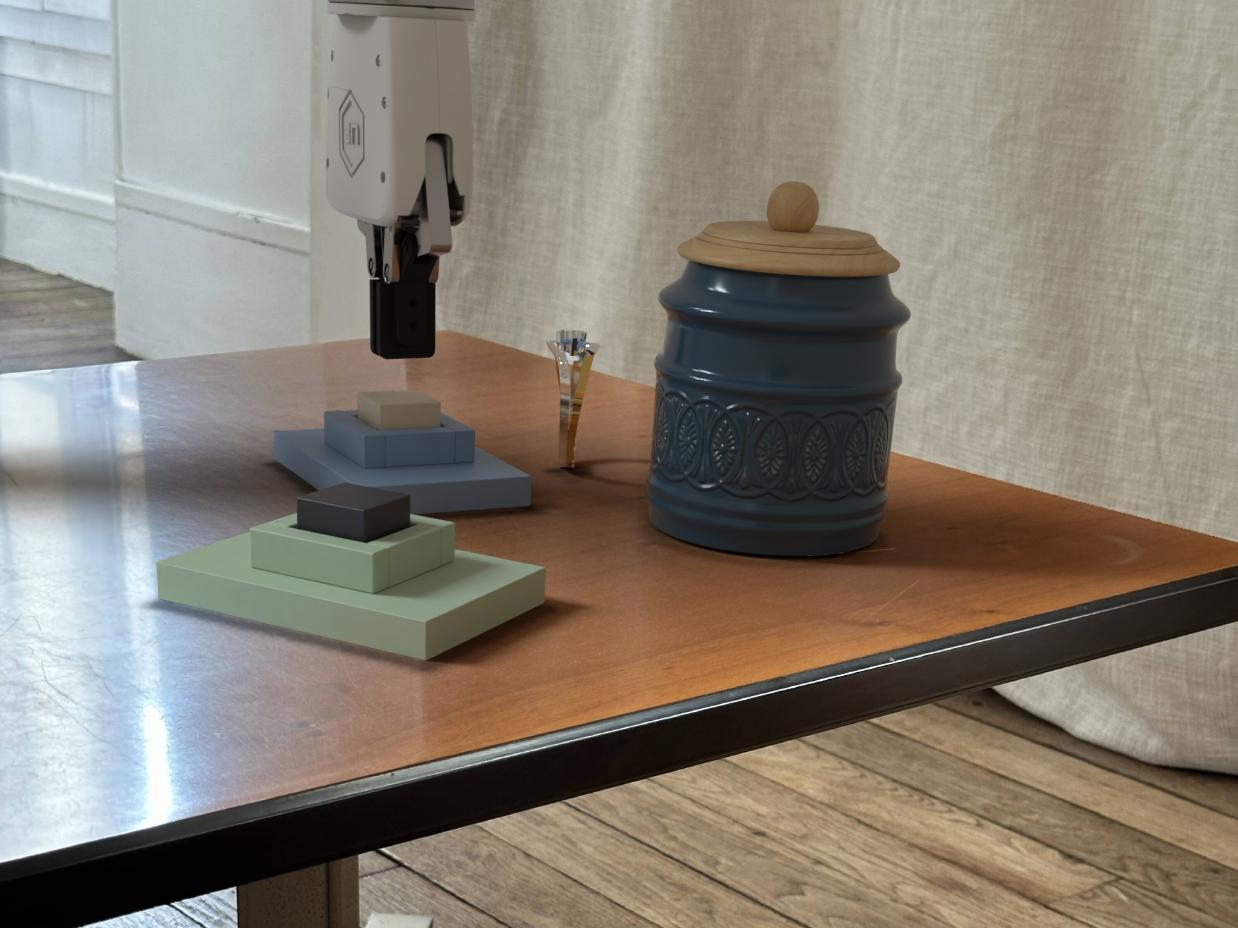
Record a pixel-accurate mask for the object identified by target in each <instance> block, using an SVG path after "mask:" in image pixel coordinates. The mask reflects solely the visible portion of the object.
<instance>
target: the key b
mask: <svg viewBox="0 0 1238 928" xmlns="http://www.w3.org/2000/svg"><path fill="white" fill-rule="evenodd" d="M356 396H357V400H356V401H357V404H356V405H357V410H358V419H359V420H360V421H362V422H364V423H366V424H367V425H369V426H371V427H373V428H374V429H376V430H390V429H411V428H431V427H440V426H441V413H442V403H441V401H439V400H437V399H435V398H433V397H431V396H430V395H427V394H426V393H423V392H421V391H419V390H417V389H405V390H404V389H402V390H399V389H398V390H375V391H358V392H357V395H356Z"/></svg>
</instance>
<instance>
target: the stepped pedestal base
mask: <svg viewBox="0 0 1238 928" xmlns="http://www.w3.org/2000/svg"><path fill="white" fill-rule="evenodd" d="M155 564H156V567H155V568H156V585H157V599H158V600H161V601H167V602H171V603H175V604H179V605H183V606H188V607H191V608H196V609H201V610H205V611H209V612H212V613H213V612H214V613H218V614H221V615H228V616H230V617H235V618H239V619H244V620H249V621H251V622H252V621H253V622H257V623H261V624H265V625H269V626H274V627H279V628H283V629H286V630H291V631H296V632H300V633H304V634H309V635H312V636H318V637H321V638H325V639H329V640H335V641H338V642H342V643H347V644H352V645H355V646H360V647H364V648H369V649H373V650H376V651H381V652H386V653H390V654H394V655H400V656H404V657H406V658H407V657H408V658H411V659H417V660H420V661H425V662H426V661H429V660H431V659H433V658H435V657H437V656H439V655H441V654H443V653H445V652H447V651H449V650H451V649H453V648H455V647H457V646H460V645H461V644H463V643H465V642H468V641H469V640H472V639H474V638H476V637H478V636H479V635H482V634H484V633H485V632H488V631H489V630H492V629H494V628H496V627H498V626H500V625H502V624H504V623H506V622H508V621H510V620H513V619H515V618H516V617H519V616H520V615H522V614H524V613H527V612H528V611H531V610H533V609H535V608H537V607H538V606H541V605H543V604H545V599H546V598H545V595H546V575H547V574H546V572H547V571H546V570H547V568H546V566H541V565H537V564H536V565H535V564H531V563H526V562H523V561H518V560H517V561H516V560H511V559H506V558H502V557H501V558H500V557H497V556H492V555H487V554H481V553H477V552H472V551H467V550H461V549H457V548H456V523H455V522H454V521H448V520H443V519H439V518H433V517H429V516H428V517H427V516H423V515H413V514H410V528H407V529H404V530H401V531H399V532H396V533H393V534H391V535H388V536H385V537H383V538H380V539H377V540H374V541H372V542H369V543H363V542H358V541H353V540H348V539H343V538H338V537H333V536H328V535H323V534H319V533H314V532H309V531H304V530H299V529H297V512H295V513H292V514H290V515H285V516H283V517H280V518H277V519H273V520H271V521H267V522H265V523H261V524H258V525H255V526H252V527H249V531H247V532H244V533H240V534H238V535H235V536H232V537H227V538H225V539H222V540H218V541H216V542H213V543H210V544H208V545H204V546H201V547H197V548H195V549H192V550H189V551H186V552H182V553H180V554H177V555H173V556H170V557H168V558H167V557H166V558H165V559H164V558H163V559H162V560H159V561H156V562H155Z"/></svg>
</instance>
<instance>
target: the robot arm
mask: <svg viewBox="0 0 1238 928" xmlns="http://www.w3.org/2000/svg"><path fill="white" fill-rule="evenodd" d="M476 9H477V0H327V14H328V15H334V19H333V25H332V31H331V40H330V49H329V50H330V52H329V61H328V64H329V65H328V76H327V95H326V96H327V97H326V98H327V99H326V101H327V102H326V134H325V135H326V137H325V138H326V139H325V196H326V199H327V202H328V204H329V205H330V206H331V207H332V209H334V210H335V211H336V212H338V213H339V214H341V215H343V216H345V217H349V218H353V219H356V223H357V228H358V230H359V232H360V233H361V234H362V235H363V236H364V238H365V249H366V250H365V251H366V252H365V253H366V268H367V274H368V276H369V348H370V352H371V353H372V354H374V355H375V356H378V357H380V358H382V359H384V360H405V359H406V360H409V359H430V358H432V357H433V356H435V353H436V317H437V316H436V314H437V313H436V311H437V309H436V307H437V306H436V305H437V304H436V303H437V302H436V301H437V299H436V297H437V296H436V295H437V294H436V293H437V292H436V291H437V290H436V289H437V288H436V285H437V282H438V280H439V275H440V258H441V256H443V255H447V254H450V253H451V252H452V247H453V237H452V227H457V226H459V225H460V224H462V223H463V222H464V221H465V220H466V219H467V218H468V216H469V215H470V212H471V207H472V198H473V197H472V195H473V182H474V181H473V179H474V121H473V118H474V117H473V95H472V94H473V93H472V78H471V77H472V76H471V75H472V74H471V62H470V48H469V38H468V26H467V22H474V23H476V22H477V21H476V20H477V19H476V16H477V15H476V14H477V11H476Z"/></svg>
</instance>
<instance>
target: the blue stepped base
mask: <svg viewBox="0 0 1238 928" xmlns="http://www.w3.org/2000/svg"><path fill="white" fill-rule="evenodd" d="M273 443H274V460H275V461H276V462H277V463H279V464H280V465H282V466H284V467H285V468H286V469H288V470H289V471H290V472H292V473H293V474H295V475H296V476H297V477H299V478H300V479H301V480H303V481H305V482H306V483H307V484H308V485H310V486H312V487H313V488H314V489H316V491H319V490H322V489H325V488H328V487H331V486H335V485H338V484H341V483H344V482H345V483H350V484H355V485H361V486H366V487H371V488H377V489H382V490H387V491H392V492H398V493H403V494H408V495H410V514H413V515H418V516H420V515H430V514H432V515H433V514H444V513H445V514H446V513H458V512H459V513H460V512H472V511H485V510H486V511H487V510H499V509H500V510H501V509H513V508H527V507H531V503H532V502H531V501H532V478H533V477H532V476H531V475H530V474H528V473H526V472H524V471H522V470H521V469H519V468H517V467H515V466H513V465H511V464H510V463H508V462H506V461H504V460H502V459H500V458H498V457H496V456H494V455H493V454H491V453H489V452H488V451H485V450H484V449H481V448H480V447H478V446H476V430H475V429H473V428H472V427H470V426H468V425H466V424H464V423H462V422H460V421H458V420H456V419H454V418H452V417H450V416H449V415H448V414H444V413H443V412H441V426H440V427H431V428H411V429H390V430H376V429H374V428H373V427H371V426H369V425H367V424H366V423H364V422H362V421H360V420H359V419H358V409H350V410H328V411H325V410H324V411H323V428H308V429H305V428H304V429H287V430H284V429H283V430H275V431H274V432H273Z"/></svg>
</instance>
